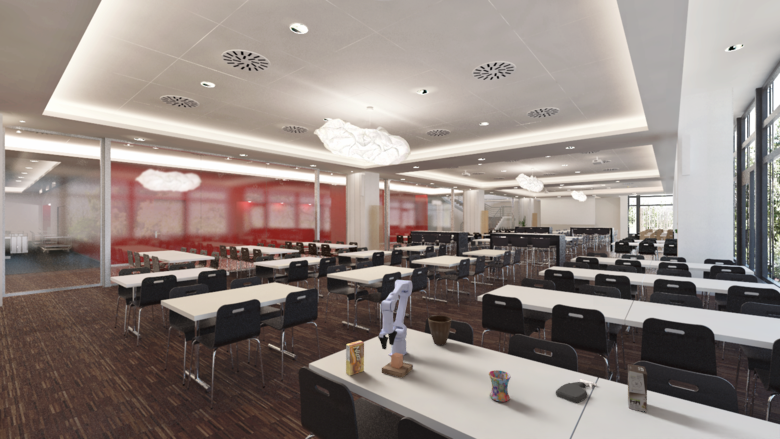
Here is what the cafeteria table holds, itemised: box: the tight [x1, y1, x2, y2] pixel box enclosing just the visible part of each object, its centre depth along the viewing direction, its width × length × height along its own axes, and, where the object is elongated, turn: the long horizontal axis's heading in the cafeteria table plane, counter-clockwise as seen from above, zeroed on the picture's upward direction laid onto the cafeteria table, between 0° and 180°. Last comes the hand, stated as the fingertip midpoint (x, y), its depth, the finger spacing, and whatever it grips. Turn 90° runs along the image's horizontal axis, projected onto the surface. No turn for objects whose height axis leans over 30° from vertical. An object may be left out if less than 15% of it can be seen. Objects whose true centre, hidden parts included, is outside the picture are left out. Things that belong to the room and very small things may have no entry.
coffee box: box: [627, 363, 648, 413], centre depth 149 cm, size 9×6×16 cm
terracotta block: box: [390, 353, 404, 369], centre depth 184 cm, size 4×4×6 cm
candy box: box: [345, 340, 365, 376], centre depth 182 cm, size 9×4×15 cm, turn 129°
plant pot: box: [427, 315, 452, 346], centre depth 224 cm, size 15×15×16 cm
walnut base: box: [381, 361, 414, 379], centre depth 184 cm, size 12×12×3 cm
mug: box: [488, 369, 512, 403], centre depth 157 cm, size 12×9×11 cm
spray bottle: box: [555, 378, 598, 404], centre depth 162 cm, size 3×11×24 cm
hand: (387, 346), depth 193 cm, fingers open, 7 cm apart
